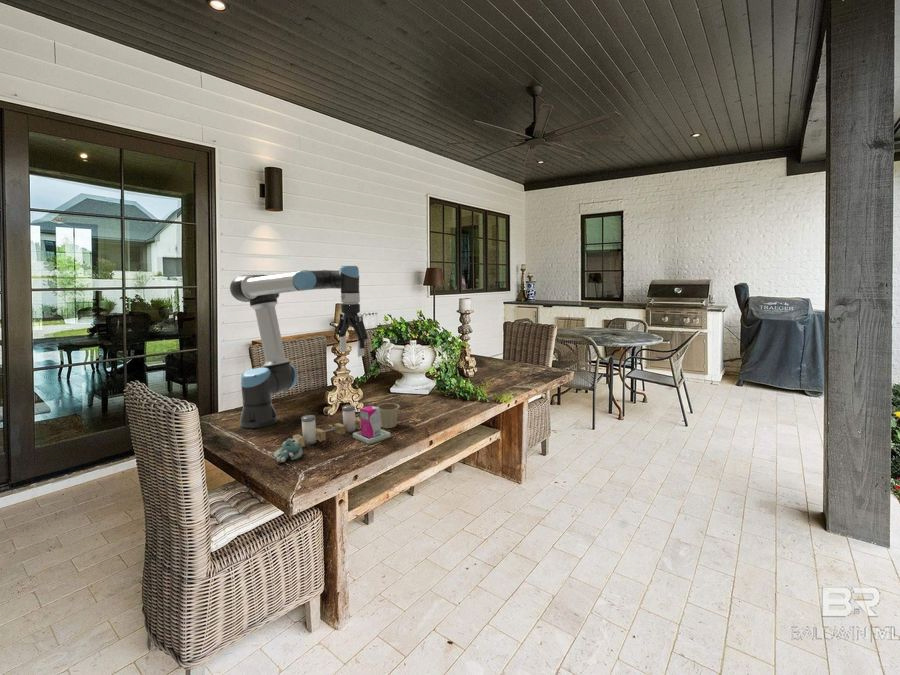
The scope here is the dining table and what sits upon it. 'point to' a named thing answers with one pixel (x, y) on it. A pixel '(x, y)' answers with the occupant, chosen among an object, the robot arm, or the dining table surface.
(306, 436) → the cylinder
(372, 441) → the tray
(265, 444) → the dining table surface
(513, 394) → the dining table surface
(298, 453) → the stuffed animal
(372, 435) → the supplement box
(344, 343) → the robot arm
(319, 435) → the clip rail
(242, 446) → the dining table surface
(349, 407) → the grey capped shaker
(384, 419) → the flower pot
